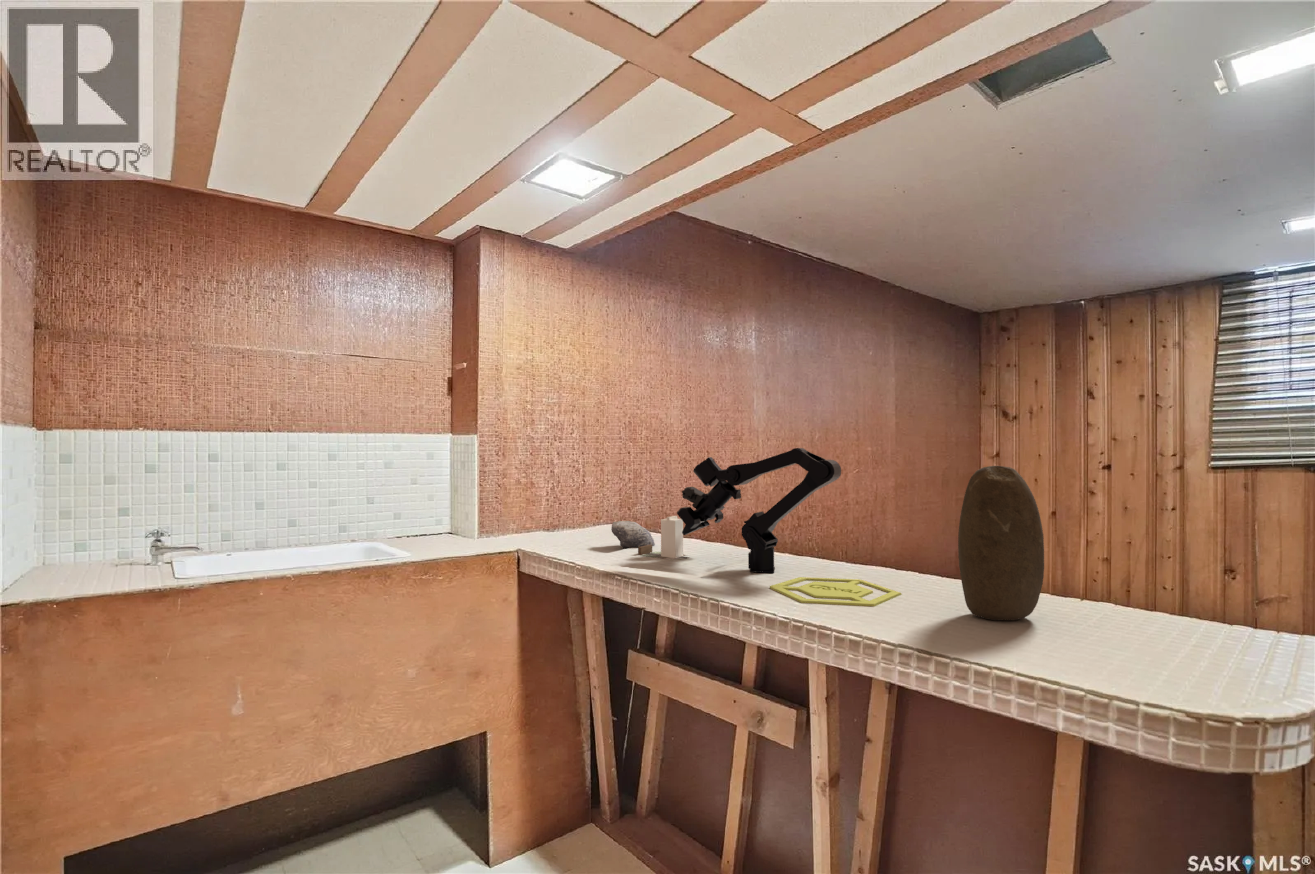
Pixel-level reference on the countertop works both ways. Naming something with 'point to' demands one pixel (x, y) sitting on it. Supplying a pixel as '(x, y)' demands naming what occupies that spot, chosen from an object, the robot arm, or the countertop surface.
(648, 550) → the switch board
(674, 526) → the white rectangular block
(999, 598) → the stone
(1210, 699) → the countertop surface
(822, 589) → the logo
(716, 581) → the countertop surface
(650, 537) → the rock
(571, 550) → the countertop surface
